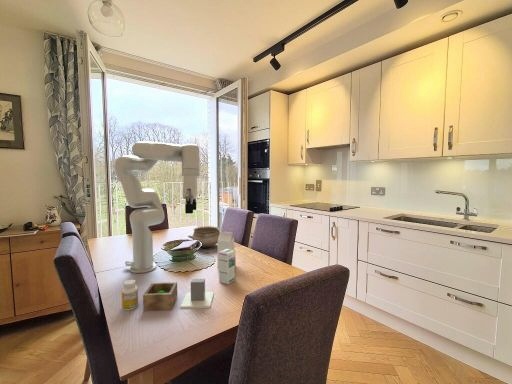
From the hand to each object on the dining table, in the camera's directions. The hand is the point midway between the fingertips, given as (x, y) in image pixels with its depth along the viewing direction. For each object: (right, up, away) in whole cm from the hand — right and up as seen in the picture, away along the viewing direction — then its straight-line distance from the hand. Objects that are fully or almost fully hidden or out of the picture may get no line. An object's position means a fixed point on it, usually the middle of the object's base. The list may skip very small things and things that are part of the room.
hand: (191, 211), depth 109 cm
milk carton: (+13, -32, +24) cm, 42 cm away
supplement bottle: (-18, -35, -17) cm, 43 cm away
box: (-8, -34, -14) cm, 38 cm away
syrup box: (+15, -33, +6) cm, 37 cm away
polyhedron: (-8, -35, -14) cm, 38 cm away
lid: (+6, -35, -12) cm, 37 cm away
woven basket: (-5, -29, +59) cm, 66 cm away
